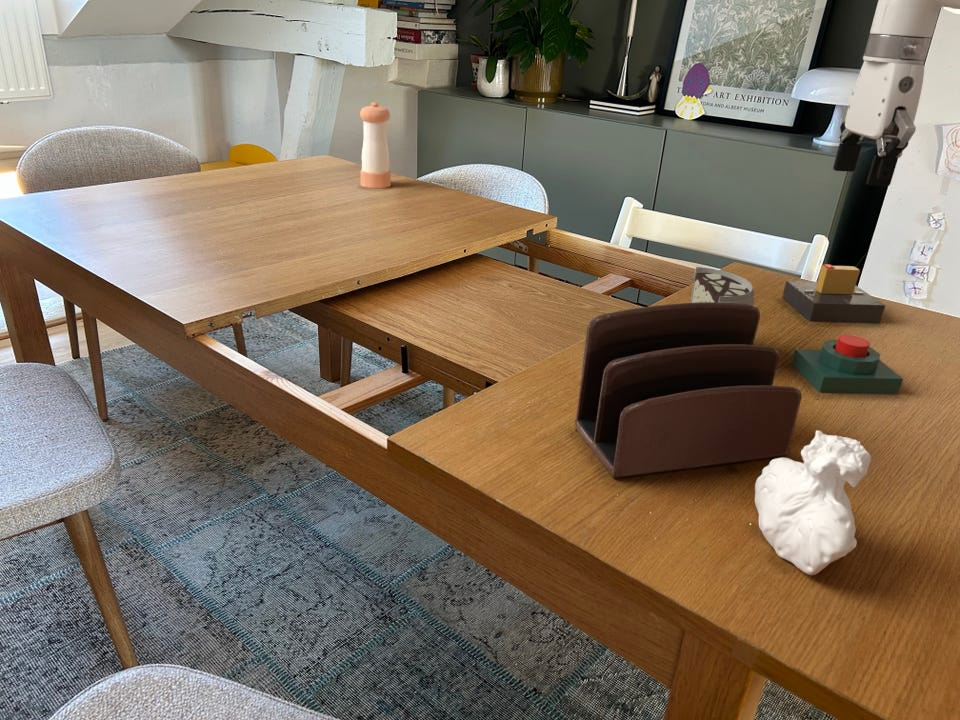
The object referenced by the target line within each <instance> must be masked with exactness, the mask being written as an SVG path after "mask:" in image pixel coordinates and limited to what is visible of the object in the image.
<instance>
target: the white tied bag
mask: <svg viewBox="0 0 960 720" xmlns="http://www.w3.org/2000/svg"><path fill="white" fill-rule="evenodd" d="M800 455H801V458H802V461H803V462H801V461H797V460H794V459H791V458H789V457H776V458H774V459H772V460H770V461H769V464H768V465H766V466H765V467H763V468H762V470H761V475H759V476H758V477H757V478H756V481H755V484H754V493H755V494H754V504H755V507H756V510H757V513H758V527H759V530H760V531H761V533H762V535H763V537H764V539H765V540H766V541H767V542H768V544H769V545H771V547H772V548H773V549H774V551H775V553H776V554H777V556H778V557H779V558H781V559H783V560H785V561H787V562H790V563H792V564H793V565H794V566H795V567H796V568H797V569H799V570H800V571H801V572H803V573H804V574H806V575H808V576H815V575H817V574H819V573H820V572H821V571H823V570H824V569H825V568H826V567H827V566H829V565H830V564H832V563H833V562H835V561H837V560H839V559H841V558H842V557H846V556H847V554H849V553H850V552H852V551H853V550H854V549H855V548H856V547H857V545H858V543H857V542H858V541H857V539H856V538H855V535H856V532H857V529H856V524H855V516H854V514H853V512H852V507H851V506H852V504H851V500H850V499H849V497H848V495H847V494H846V491H845V485H846V483H848V484H849V485H850V486H851V487H852V488H856V487H857V486H858V484H859V482H860V481H861V480H862V479H863V478H864V477H865V476H867V474H868V473H867V472H868V470H869V466H870V465H871V462H872V456H871V454H870V453H869V451H867V449H866V448H865V447H864V446H863V445H862V444H861V440H860V441H858V440H857V439H853V438H851V437H845V436H840V435H833V434H832V435H830V434H825V433H823V431H821V430H819V429H817V430H815V433H814V438H813V439H812V440H811V441H810V443H809V444H807V445H804V446H803V448H802V449H801V451H800Z"/></svg>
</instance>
